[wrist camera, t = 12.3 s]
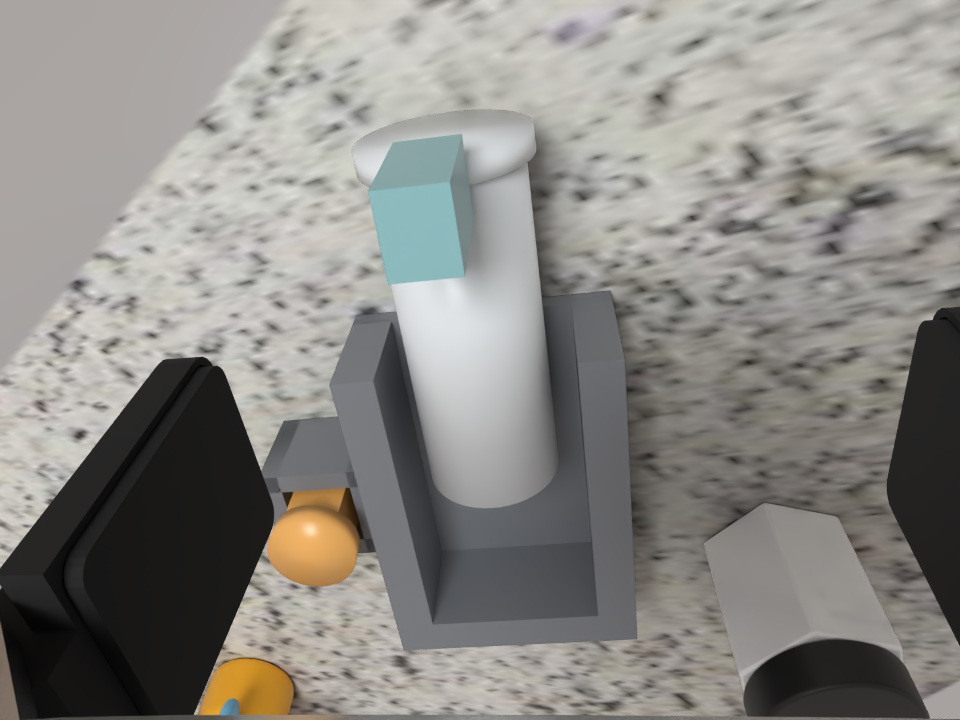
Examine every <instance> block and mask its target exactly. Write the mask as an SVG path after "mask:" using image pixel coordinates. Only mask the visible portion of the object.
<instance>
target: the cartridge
mask: <svg viewBox="0 0 960 720" xmlns="http://www.w3.org/2000/svg"><path fill="white" fill-rule="evenodd" d="M535 153H536V140H535V130H534V122H533V120H532V119H531V118H530V117H528V116H527V115H524V114H522V113H518V112H513V111H506V110H464V111H454V112H446V113H439V114H433V115H428V116H423V117H418V118H414V119H410V120H406V121H402V122H399V123H395V124H392V125H389V126H386V127H384V128H381V129H379V130H376V131H374V132H372V133H370V134H368V135H366V136H364V137H363V138H361V139H360V140H359V141H357V142H356V143H355V144H354V146H353V148H352V156H353V160H354V165H355V169H356V174H357V178H358V180H359V181H360V182H361V183H362V184H364V185H366V186H368V187H370V188H369V190H368V194H369V199H370V204H371V208H372V213H373V217H374V222H375V227H376V231H377V236H378V240H379V245H380V250H381V254H382V259H383V264H384V268H385V273H386V277H387V282H388V285H390V284H391V288H392V293H393V297H394V302H395V307H396V311H397V316H398V321H399V325H400V330H401V335H402V339H403V344H404V349H405V353H406V358H407V363H408V367H409V372H410V377H411V381H412V386H413V391H414V395H415V400H416V405H417V409H418V414H419V419H420V423H421V428H422V433H423V437H424V442H425V447H426V451H427V456H428V461H429V465H430V470H431V475H432V479H433V482H434V485H435V486H436V488H437V490H438V491H439V492H440V493H441V494H442V495H443V496H445V497H446V498H448V499H449V500H451V501H453V502H455V503H458V504H461V505H464V506H468V507H474V508H498V507H504V506H509V505H513V504H516V503H519V502H522V501H524V500H527V499H529V498H531V497H532V496H534V495H536V494H537V493H539V492H540V491H542V490H543V489H544V488H545V487H546V486H547V485H548V484H549V483H550V482H551V480H552V479H553V477H554V476H555V474H556V472H557V468H558V461H559V459H558V450H557V440H556V431H555V421H554V411H553V402H552V392H551V383H550V373H549V363H548V354H547V344H546V335H545V325H544V315H543V306H542V296H541V287H540V277H539V267H538V258H537V248H536V239H535V229H534V220H533V210H532V200H531V191H530V181H529V172H528V162H529V161H530V160H531V159H532V158H533V157H534V155H535Z"/></svg>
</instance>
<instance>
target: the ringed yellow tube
mask: <svg viewBox="0 0 960 720" xmlns="http://www.w3.org/2000/svg"><path fill="white" fill-rule="evenodd" d="M293 696H294V686H293V683H292V681H291V679H290V678H289V676H288V675H287V674H286V673H285V672H284V671H283V670H281V669H280V668H278V667H277V666H275V665H272V664H271V663H268V662H265V661H262V660H257V659H249V658H243V659H235V660H230V661H228V662H225V663H224V664H222V665H220V667H219V668H218V669H217V670H216V671H215V672H214V674H213V676H212V679H211V681H210V684H209V686H208V689H207V691H206V694H205V696H204V699H203V701H202V704H201V706H200V709H199V712H198V714H197V715H288V714H289V711H290V707H291V704H292V700H293Z"/></svg>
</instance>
